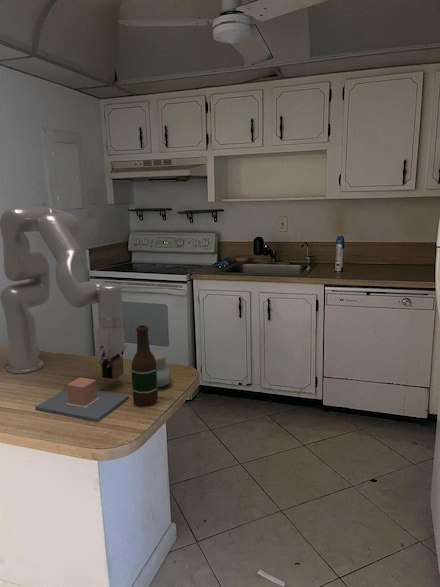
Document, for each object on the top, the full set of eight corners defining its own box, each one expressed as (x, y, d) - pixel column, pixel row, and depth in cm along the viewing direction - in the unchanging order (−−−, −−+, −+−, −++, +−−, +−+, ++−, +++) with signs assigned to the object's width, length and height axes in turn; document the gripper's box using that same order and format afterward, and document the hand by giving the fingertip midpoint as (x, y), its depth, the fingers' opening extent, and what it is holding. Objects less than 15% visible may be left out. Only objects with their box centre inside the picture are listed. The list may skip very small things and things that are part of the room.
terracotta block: (68, 403, 132) (66, 384, 131) (81, 395, 138) (79, 377, 137) (84, 406, 130) (83, 387, 129) (97, 398, 136) (96, 379, 135)
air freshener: (169, 390, 144) (168, 361, 142) (143, 391, 143) (142, 362, 141) (170, 377, 154) (169, 350, 152) (146, 378, 154) (144, 351, 152)
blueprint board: (35, 409, 131) (35, 406, 131) (71, 388, 145) (71, 385, 145) (97, 422, 123) (97, 418, 123) (128, 398, 138) (128, 395, 138)
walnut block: (101, 377, 145) (101, 360, 143) (110, 371, 149) (110, 355, 148) (114, 379, 143) (114, 362, 142) (123, 374, 147) (122, 357, 146)
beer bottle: (137, 409, 131) (133, 331, 126) (129, 399, 137) (125, 325, 132) (162, 403, 134) (159, 327, 129) (153, 394, 141) (150, 321, 136)
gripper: (115, 314, 151) (117, 364, 155) (84, 327, 135) (87, 382, 139) (134, 316, 148) (136, 367, 152) (104, 330, 133) (107, 386, 137)
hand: (112, 374), depth 146 cm, fingers closed on walnut block, 5 cm apart
